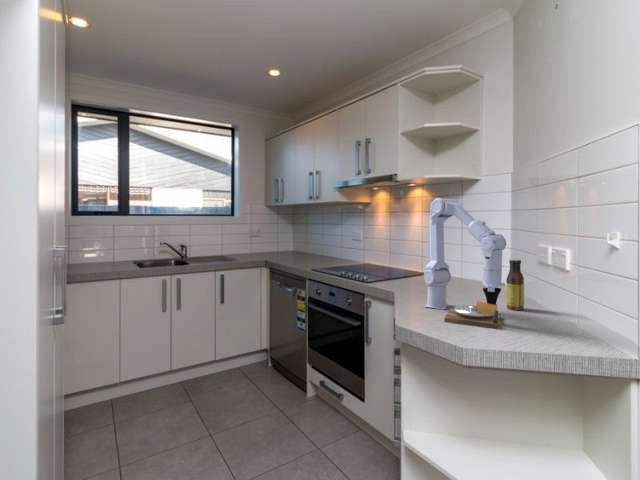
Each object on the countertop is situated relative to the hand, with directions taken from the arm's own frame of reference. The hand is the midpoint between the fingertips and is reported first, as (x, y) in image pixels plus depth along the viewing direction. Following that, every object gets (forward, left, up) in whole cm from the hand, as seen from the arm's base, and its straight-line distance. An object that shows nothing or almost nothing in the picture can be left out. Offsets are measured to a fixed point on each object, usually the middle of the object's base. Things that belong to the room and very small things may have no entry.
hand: (491, 308), depth 121 cm
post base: (-1, -6, -5) cm, 8 cm away
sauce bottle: (-26, +7, -5) cm, 27 cm away
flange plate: (-1, -6, -2) cm, 6 cm away
